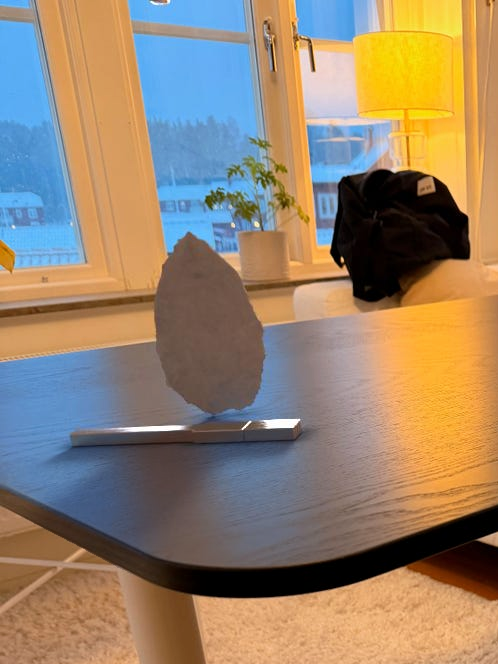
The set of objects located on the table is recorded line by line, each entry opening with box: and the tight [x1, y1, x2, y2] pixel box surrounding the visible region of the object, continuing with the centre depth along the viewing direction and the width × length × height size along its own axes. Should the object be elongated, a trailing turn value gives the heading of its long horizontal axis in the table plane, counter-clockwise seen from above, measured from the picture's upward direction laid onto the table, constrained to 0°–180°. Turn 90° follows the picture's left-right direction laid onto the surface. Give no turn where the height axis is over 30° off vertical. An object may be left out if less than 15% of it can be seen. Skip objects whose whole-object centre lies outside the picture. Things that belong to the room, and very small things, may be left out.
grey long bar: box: [69, 418, 302, 447], centre depth 70 cm, size 18×3×1 cm, turn 90°
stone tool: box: [153, 230, 267, 417], centre depth 75 cm, size 9×3×15 cm, turn 105°
